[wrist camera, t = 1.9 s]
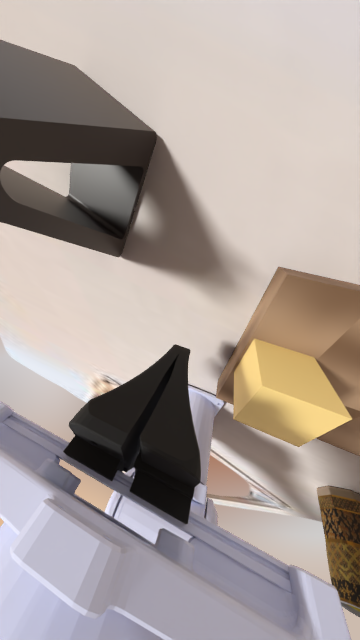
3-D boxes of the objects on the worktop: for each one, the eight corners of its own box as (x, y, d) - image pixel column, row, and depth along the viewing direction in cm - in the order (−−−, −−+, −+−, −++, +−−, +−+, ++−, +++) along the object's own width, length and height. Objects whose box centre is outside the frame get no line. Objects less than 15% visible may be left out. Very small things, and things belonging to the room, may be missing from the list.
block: (281, 389, 14) (298, 446, 10) (234, 371, 14) (233, 419, 11) (314, 357, 11) (352, 418, 7) (254, 338, 12) (262, 385, 8)
